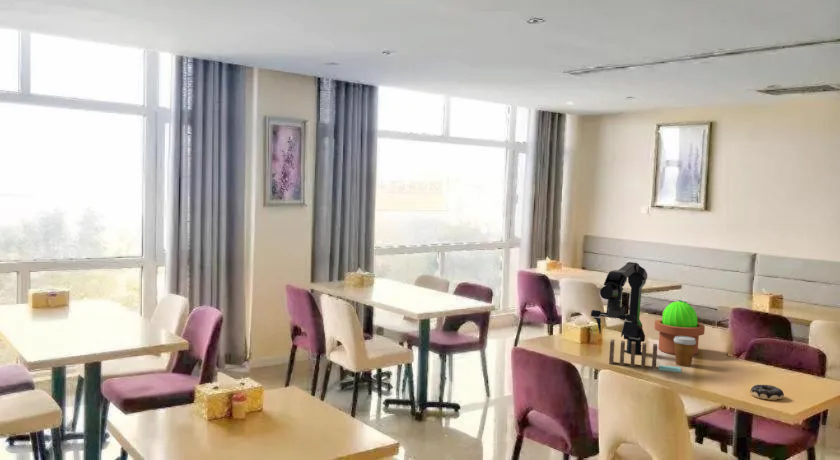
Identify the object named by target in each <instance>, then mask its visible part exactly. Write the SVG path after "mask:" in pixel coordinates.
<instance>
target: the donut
mask: <svg viewBox="0 0 840 460" xmlns="http://www.w3.org/2000/svg"><path fill="white" fill-rule="evenodd" d="M749 391H750V394H751V396H752V395H753V396H752V397H754V396H755V397H754V398H756V397H757V398H756V399H759V398H762V399H769V400H768V401H770V400H772V401H778V400H777V399H780V400H782V399H783V398H784V396H785V393H784V391H783V389H781V388H779V387H777V386H775V385H771V384H754V385H753V386H752V387H751V389H750V390H749ZM762 399H761V400H762Z"/></svg>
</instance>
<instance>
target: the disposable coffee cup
mask: <svg viewBox="0 0 840 460" xmlns="http://www.w3.org/2000/svg"><path fill="white" fill-rule="evenodd" d="M674 342H675V364H676V365H677V366H679V367H681V366H682V367H690V366H691V367H692V361H693V356H694V355H693V352H694V347H695V344H696V340H695V338H692V337H688V336H675V338H674Z"/></svg>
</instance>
